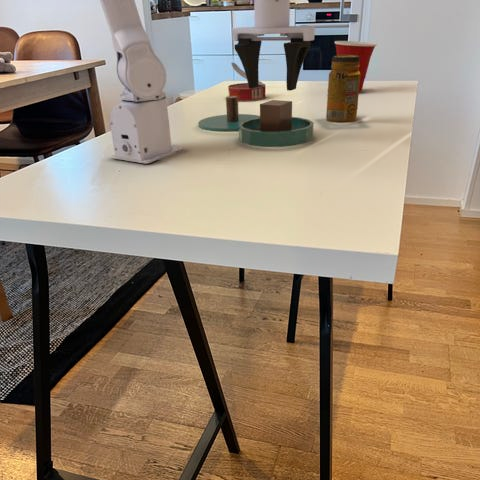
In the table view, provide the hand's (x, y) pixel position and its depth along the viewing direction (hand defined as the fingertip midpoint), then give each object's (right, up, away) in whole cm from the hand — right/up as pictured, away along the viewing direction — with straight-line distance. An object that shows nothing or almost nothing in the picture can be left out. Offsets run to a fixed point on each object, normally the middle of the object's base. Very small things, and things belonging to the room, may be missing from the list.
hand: (272, 88), depth 84 cm
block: (+1, -8, +3) cm, 8 cm away
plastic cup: (+25, +21, +46) cm, 56 cm away
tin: (+1, -8, +3) cm, 9 cm away
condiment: (+15, -1, +13) cm, 20 cm away
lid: (-7, 0, +14) cm, 16 cm away
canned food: (-4, +18, +44) cm, 48 cm away
